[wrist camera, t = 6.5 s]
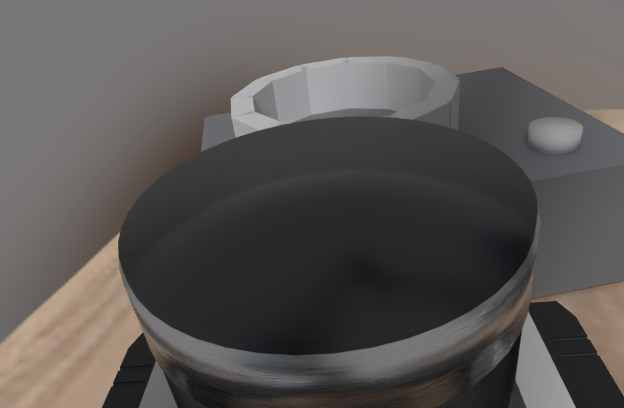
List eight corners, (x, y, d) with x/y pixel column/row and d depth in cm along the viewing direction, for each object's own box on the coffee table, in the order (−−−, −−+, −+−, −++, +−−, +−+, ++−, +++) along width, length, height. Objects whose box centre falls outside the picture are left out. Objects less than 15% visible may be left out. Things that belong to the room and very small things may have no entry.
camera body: (495, 156, 33) (505, 24, 29) (631, 279, 22) (682, 92, 17) (226, 204, 32) (194, 74, 27) (226, 360, 21) (172, 182, 16)
